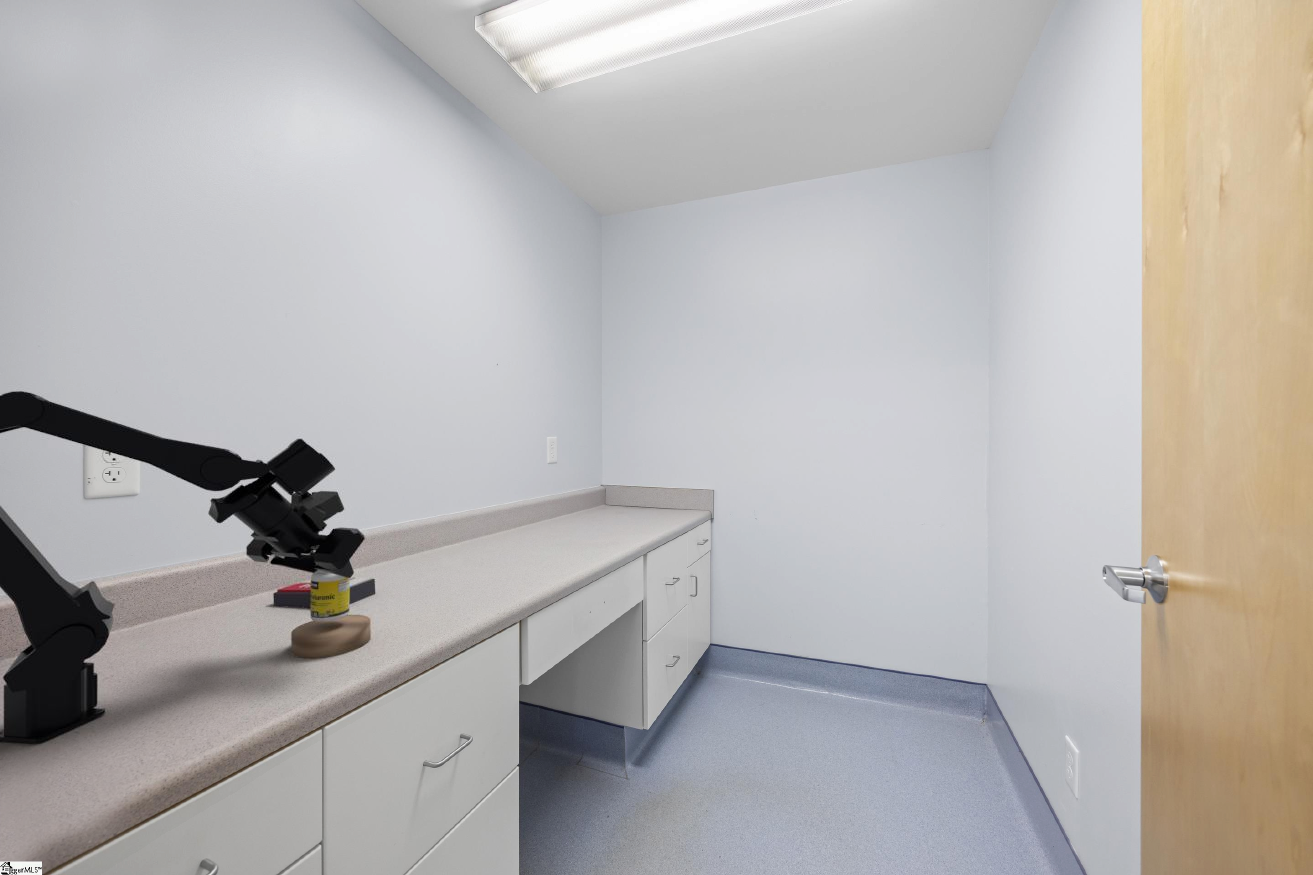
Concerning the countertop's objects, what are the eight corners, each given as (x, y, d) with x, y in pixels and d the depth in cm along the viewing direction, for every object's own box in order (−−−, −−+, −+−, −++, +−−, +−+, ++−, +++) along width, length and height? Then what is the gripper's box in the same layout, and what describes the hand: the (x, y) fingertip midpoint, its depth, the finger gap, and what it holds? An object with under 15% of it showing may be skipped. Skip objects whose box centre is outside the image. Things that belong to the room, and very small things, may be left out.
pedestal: (339, 659, 78) (339, 639, 78) (273, 656, 80) (273, 637, 80) (384, 632, 89) (384, 615, 89) (326, 630, 91) (326, 613, 91)
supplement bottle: (301, 621, 82) (302, 560, 82) (327, 610, 87) (328, 552, 88) (332, 623, 81) (333, 561, 81) (356, 612, 87) (357, 554, 87)
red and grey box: (316, 575, 116) (375, 574, 113) (317, 594, 116) (376, 594, 113) (271, 589, 105) (335, 589, 102) (272, 610, 105) (336, 610, 102)
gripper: (354, 476, 78) (409, 537, 88) (266, 474, 84) (328, 531, 94) (304, 537, 70) (370, 595, 81) (211, 529, 76) (284, 585, 87)
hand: (338, 573), depth 86 cm, fingers closed on supplement bottle, 5 cm apart
